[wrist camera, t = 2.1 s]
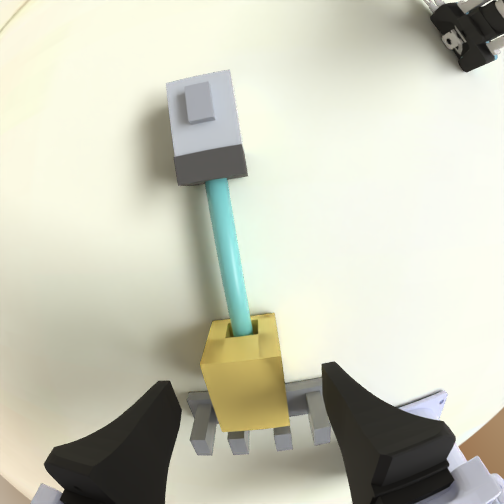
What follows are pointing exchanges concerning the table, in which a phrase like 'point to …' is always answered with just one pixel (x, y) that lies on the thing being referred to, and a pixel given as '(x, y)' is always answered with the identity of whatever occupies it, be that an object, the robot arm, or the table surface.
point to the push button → (470, 29)
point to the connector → (203, 113)
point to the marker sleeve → (246, 376)
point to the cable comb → (299, 402)
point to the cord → (229, 256)
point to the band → (210, 165)
